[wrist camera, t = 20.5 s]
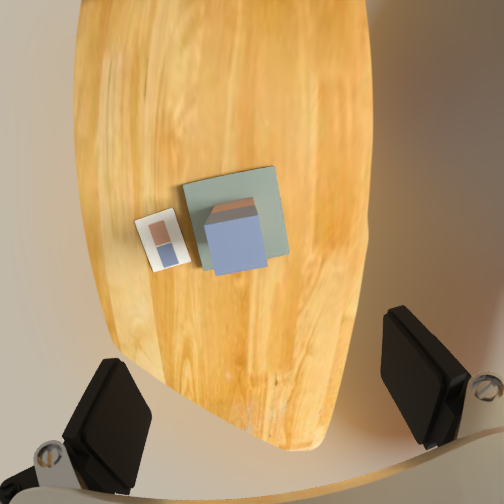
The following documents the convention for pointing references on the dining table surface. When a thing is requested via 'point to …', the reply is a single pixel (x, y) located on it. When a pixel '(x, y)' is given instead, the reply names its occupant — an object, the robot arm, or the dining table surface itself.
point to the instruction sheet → (162, 240)
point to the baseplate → (232, 189)
